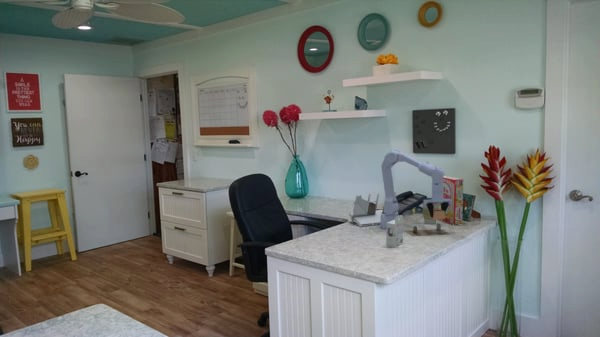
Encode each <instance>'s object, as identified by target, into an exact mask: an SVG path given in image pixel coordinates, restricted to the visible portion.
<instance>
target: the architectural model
mask: <svg viewBox="0 0 600 337" xmlns="http://www.w3.org/2000/svg"><path fill="white" fill-rule="evenodd" d="M394 193H395V197H396V196H397V195H396V194H397V191H394ZM379 196H380V193H377V195H376V199H375V200H370V199H371V194H370V193H369V194H368V197H367V199H365V198H363V197H362V195H361V194H359V195H358V194H356V196H355V200H354V202H353V204H354V207H353V210H352V211H353V212H349V213H348V216H350V220H351V224H354V222H355V223H356V225H357V226H359V227H360V228H363V227H373V226H380V218H381V215H382V214H385V211H384V206H385V200H384V201H383V207H382V209H377V207H378V203H379ZM385 198H386V197H385V196H384V199H385ZM398 220H400V218H398Z"/></svg>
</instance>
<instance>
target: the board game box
mask: <svg viewBox="0 0 600 337" xmlns="http://www.w3.org/2000/svg"><path fill="white" fill-rule="evenodd" d="M443 199H451V203H448V204H449V206H448V208H447V210H446V212H445V219H441V220H442V221H441V220H440V221H441V222H444V221H445V222H444V223H446V222H448V223H447V224H449V223H451V224H450V225H452V224H454V225H453V226H456V225H455V224H462V225H463V212H464V211H463V209H464V208H463V206H464V205H463V204H464V178H459V177H453V176H450V175H449V176H448V175H445V174H444V177H443ZM438 209H441V203H438Z"/></svg>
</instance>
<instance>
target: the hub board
mask: <svg viewBox="0 0 600 337" xmlns="http://www.w3.org/2000/svg"><path fill="white" fill-rule="evenodd" d="M441 228H442V227H441V224H440V223H438V224H436V228H435V229H434V228H433V229H418V227H417V225H414V226H413V228H412V229H411V230H404V232H405V233H406V234H407V235H409V236H411V237H423V236H424V237H425V236H442V235H443V236H446V235H448V236H449V235H451V233H449V232H448V231H446V230H445V229H441Z"/></svg>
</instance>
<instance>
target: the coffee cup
mask: <svg viewBox="0 0 600 337" xmlns="http://www.w3.org/2000/svg"><path fill="white" fill-rule="evenodd" d="M429 199H432V197H423V198H422V200H421V204H422V213H423V214H422V216H423V222H424V225H432V224H433V225H437V224H436V223H437V220H434V219H432V218H430V213H429V210H428V207H427V205H426V204H424V200H429ZM433 205H434V209H438V203H433Z"/></svg>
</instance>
